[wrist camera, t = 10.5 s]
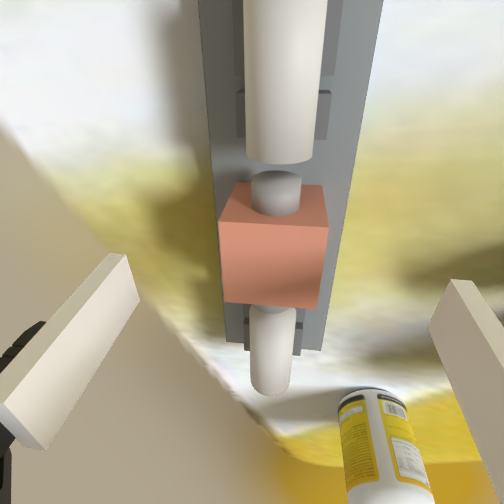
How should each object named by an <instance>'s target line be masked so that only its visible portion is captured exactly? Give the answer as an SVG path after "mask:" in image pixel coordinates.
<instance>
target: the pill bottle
mask: <svg viewBox="0 0 504 504" xmlns="http://www.w3.org/2000/svg"><path fill="white" fill-rule="evenodd" d="M338 418H339V427H340V436H341V444H342V453H343V462H344V470H345V480H346V488H347V498H348V503H349V504H435V502H434V498H433V494H432V491H431V488H430V484H429V481H428V478H427V475H426V471H425V468H424V465H423V462H422V458H421V455H420V452H419V449H418V445H417V442H416V439H415V436H414V432H413V429H412V426H411V423H410V419H409V416H408V413H407V410H406V407H405V405H404V403H403V402H402V401H401V399H399V398H398V397H397V396H395V395H394V394H392V393H389V392H386V391H383V390H376V389H365V390H359V391H355V392H352V393H350V394H348V395H347V396H345V397H344V398H343V399H342V400H341V401H340V403H339V406H338Z"/></svg>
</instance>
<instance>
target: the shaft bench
mask: <svg viewBox="0 0 504 504" xmlns="http://www.w3.org/2000/svg"><path fill="white" fill-rule="evenodd" d="M198 5H199V17H200V29H201V41H202V53H203V65H204V78H205V90H206V102H207V114H208V126H209V138H210V150H211V162H212V174H213V186H214V198H215V210H216V222H217V234H218V246H219V258H220V270H221V282H222V294H223V306H224V318H225V330H226V342H236V343H244V350H246V351H250V375H251V383H252V386H253V387H254V389H255V390H256V391H257V392H259V393H260V394H263V395H265V396H277V395H279V394H281V393H283V392H284V391H285V390H286V389H287V387H288V386H289V382H290V373H291V363H292V355H296V356H300V352H301V349H308V350H318V351H321V347H322V342H323V336H324V330H325V325H326V319H327V314H328V308H329V302H330V297H331V291H332V286H333V280H334V274H335V269H336V263H337V258H338V252H339V246H340V241H341V235H342V230H343V224H344V218H345V213H346V207H347V202H348V196H349V190H350V185H351V179H352V174H353V168H354V162H355V157H356V151H357V146H358V140H359V134H360V129H361V123H362V118H363V112H364V106H365V101H366V95H367V90H368V84H369V78H370V73H371V67H372V62H373V56H374V50H375V45H376V39H377V34H378V28H379V22H380V17H381V11H382V6H383V0H198ZM270 170H280V171H288V172H292V173H295V174H297V175H299V176H300V177H301V179H302V181H301V184H304V185H322V188H323V194H324V200H325V206H326V212H327V218H328V224H329V231H328V238H327V244H326V251H325V257H324V264H323V271H322V277H321V284H320V290H319V297H318V304H317V310H315V309H303V308H291V307H289V308H288V309H287V310H285V311H283V312H281V313H276V314H269V313H264V312H262V311H260V310H258V309H257V308H256V307H255V306H254V304H243V303H231V302H224V290H223V277H222V264H221V252H220V239H219V226H218V221H219V219H220V216H221V214H222V212H223V210H224V208H225V206H226V203H227V201H228V199H229V197H230V195H231V193H232V190H233V188H234V186H235V184H236V182H251V178H252V176H253V175H255V174H257V173H259V172H263V171H270Z"/></svg>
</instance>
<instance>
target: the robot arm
mask: <svg viewBox="0 0 504 504" xmlns="http://www.w3.org/2000/svg"><path fill="white" fill-rule="evenodd" d="M139 301H140V299H139V296H138V292H137V289H136V286H135V283H134V279H133V276H132V273H131V270H130V266H129V263H128V260H127V257H126V254H118V253H109V254H108V255H107V256H106V257H105V258H104V259H103V260H102V262H101V263H100V264H99V265H98V266H97V267H96V268H95V269H94V270H93V271H92V272H91V274H90V275H89V276H88V277H87V278H86V279H85V280H84V281H83V282H82V284H81V285H80V286H79V287H78V288H77V289H76V290H75V291H74V293H73V294H72V295H71V296H70V297H69V298H68V299H67V300H66V301H65V302H64V304H63V305H62V306H61V307H60V308H59V309H58V310H57V311H56V312H55V314H54V315H53V316H52V317H51V318H50V319H49V320H48V321H47V322H43V321H40V322H38V323H36V324H35V325H33V326H32V327H30V328H29V329H27V330H26V331H25V332H24V333H23V334H22V335H21V336H20V337H19V338H18V339H17V340H16V341H15V342H14V343H13V345H12V347H10V348H8V349H7V350H6V351H5V353H4V354H3V356H2V357H1V358H0V504H11V458H12V457H11V456H12V455H11V451H10V448H9V446H10V445H11V444H12V442H13V441H14V439H15V438H16V439H17V440H18V441H19V442H20V444H22V446H23V447H27V448H33V449H39V450H45V451H46V450H47V449H48V447H49V446H50V444H51V442H52V441H53V439H54V437H55V436H56V434H57V433H58V431H59V429H60V428H61V426H62V425H63V423H64V421H65V420H66V418H67V416H68V415H69V413H70V412H71V410H72V408H73V407H74V405H75V404H76V402H77V401H78V399H79V397H80V396H81V394H82V393H83V391H84V389H85V388H86V386H87V385H88V383H89V381H90V380H91V378H92V377H93V375H94V373H95V372H96V370H97V368H98V367H99V365H100V364H101V362H102V360H103V359H104V357H105V356H106V354H107V352H108V351H109V349H110V348H111V346H112V344H113V343H114V341H115V340H116V338H117V336H118V335H119V333H120V331H121V330H122V328H123V327H124V325H125V324H126V322H127V320H128V319H129V317H130V316H131V314H132V312H133V311H134V309H135V308H136V306H137V304H138V303H139ZM428 331H429V333H430V336H431V338H432V340H433V343H434V345H435V348H436V350H437V352H438V355H439V357H440V360H441V362H442V364H443V367H444V369H445V372H446V374H447V376H448V379H449V381H450V384H451V386H452V388H453V391H454V393H455V396H456V398H457V400H458V403H459V405H460V408H461V410H462V412H463V415H464V417H465V420H466V422H467V424H468V427H469V429H470V432H471V434H472V436H473V439H474V441H475V444H476V446H477V448H478V451H479V453H480V456H481V458H482V460H483V463H484V465H485V468H486V470H487V472H488V475H489V477H490V480H491V482H492V484H493V487H494V489H495V492H496V494H497V497H498V499H499V501H500V504H504V327H503V325H502V324H501V322H500V321H499V320H498V318H497V317H496V315H495V314H494V312H493V311H492V309H491V308H490V306H489V305H488V303H487V302H486V300H485V299H484V297H483V296H482V294H481V293H480V292H479V290H478V289H477V287H476V286H475V284H474V283H473V281H470V280H457V279H450V281H449V283H448V285H447V287H446V289H445V292H444V294H443V296H442V298H441V300H440V302H439V304H438V306H437V308H436V311H435V313H434V315H433V317H432V319H431V321H430V323H429V325H428Z"/></svg>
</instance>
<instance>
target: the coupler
mask: <svg viewBox="0 0 504 504" xmlns="http://www.w3.org/2000/svg"><path fill="white" fill-rule="evenodd" d="M301 181H302V179H301V177H300V176H299V175H297V174H295V173H292V172H288V171H280V170H270V171H263V172H259V173H257V174H255V175H253V176H252V178H251V182H236V184H235V186H234V188H233V190H232V193H231V195H230V197H229V199H228V201H227V203H226V206H225V208H224V210H223V212H222V214H221V216H220V219H219V221H218V226H219V239H220V252H221V264H222V277H223V290H224V302H231V303H243V304H254V306H255V307H256V308H257V309H258V310H260V311H262V312H264V313H269V314H276V313H281V312H283V311H285V310H287V309H288V308H289V307H291V308H303V309H315V310H317V304H318V297H319V290H320V284H321V277H322V271H323V264H324V257H325V251H326V244H327V238H328V231H329V224H328V218H327V212H326V206H325V200H324V194H323V188H322V185H304V184H301Z"/></svg>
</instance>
